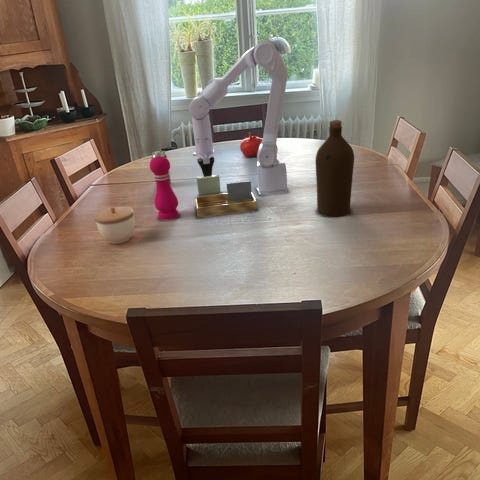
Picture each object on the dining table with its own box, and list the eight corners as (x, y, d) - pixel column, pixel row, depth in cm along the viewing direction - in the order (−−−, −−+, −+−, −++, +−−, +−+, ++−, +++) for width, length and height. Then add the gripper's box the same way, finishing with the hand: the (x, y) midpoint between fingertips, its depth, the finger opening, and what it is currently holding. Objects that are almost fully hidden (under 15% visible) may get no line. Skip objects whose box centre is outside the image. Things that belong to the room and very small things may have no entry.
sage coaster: (220, 191, 164) (219, 174, 158) (220, 193, 164) (219, 176, 158) (198, 194, 164) (196, 177, 158) (198, 196, 164) (196, 179, 157)
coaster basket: (252, 199, 156) (251, 190, 154) (256, 211, 147) (256, 201, 145) (196, 206, 155) (194, 197, 153) (197, 218, 146) (196, 208, 144)
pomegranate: (264, 157, 198) (263, 134, 193) (240, 159, 198) (238, 136, 193) (264, 151, 206) (262, 128, 201) (241, 153, 206) (239, 130, 201)
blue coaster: (252, 203, 151) (250, 180, 147) (252, 204, 151) (250, 181, 147) (228, 206, 151) (226, 183, 147) (228, 207, 150) (226, 184, 146)
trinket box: (120, 249, 131) (112, 216, 126) (93, 243, 136) (84, 212, 131) (146, 234, 139) (139, 203, 134) (119, 229, 144) (112, 199, 139)
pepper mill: (184, 213, 151) (174, 147, 140) (174, 221, 145) (163, 154, 134) (163, 212, 153) (152, 147, 142) (153, 220, 147) (140, 154, 137)
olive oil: (355, 216, 137) (359, 123, 123) (317, 219, 137) (318, 127, 124) (348, 203, 146) (351, 115, 132) (313, 206, 146) (313, 119, 133)
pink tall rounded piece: (160, 189, 174) (154, 155, 167) (154, 186, 177) (148, 152, 171) (173, 185, 176) (168, 152, 169) (167, 182, 180) (161, 149, 173)
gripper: (190, 134, 160) (195, 175, 167) (191, 144, 148) (197, 187, 155) (211, 132, 160) (215, 172, 168) (214, 142, 148) (218, 185, 156)
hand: (208, 180), depth 162 cm, fingers closed
